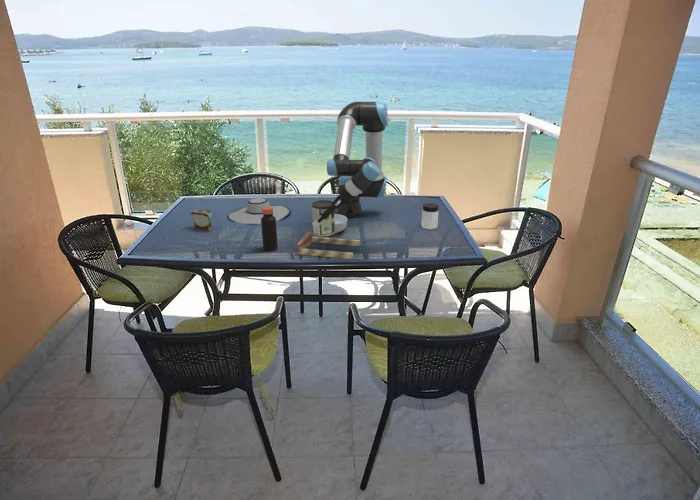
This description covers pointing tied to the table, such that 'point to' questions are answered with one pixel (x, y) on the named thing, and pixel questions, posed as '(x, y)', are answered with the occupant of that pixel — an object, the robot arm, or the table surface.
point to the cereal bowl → (340, 222)
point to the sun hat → (257, 212)
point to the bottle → (269, 229)
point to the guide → (309, 238)
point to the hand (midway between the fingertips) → (317, 221)
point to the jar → (430, 216)
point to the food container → (202, 219)
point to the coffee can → (328, 224)
